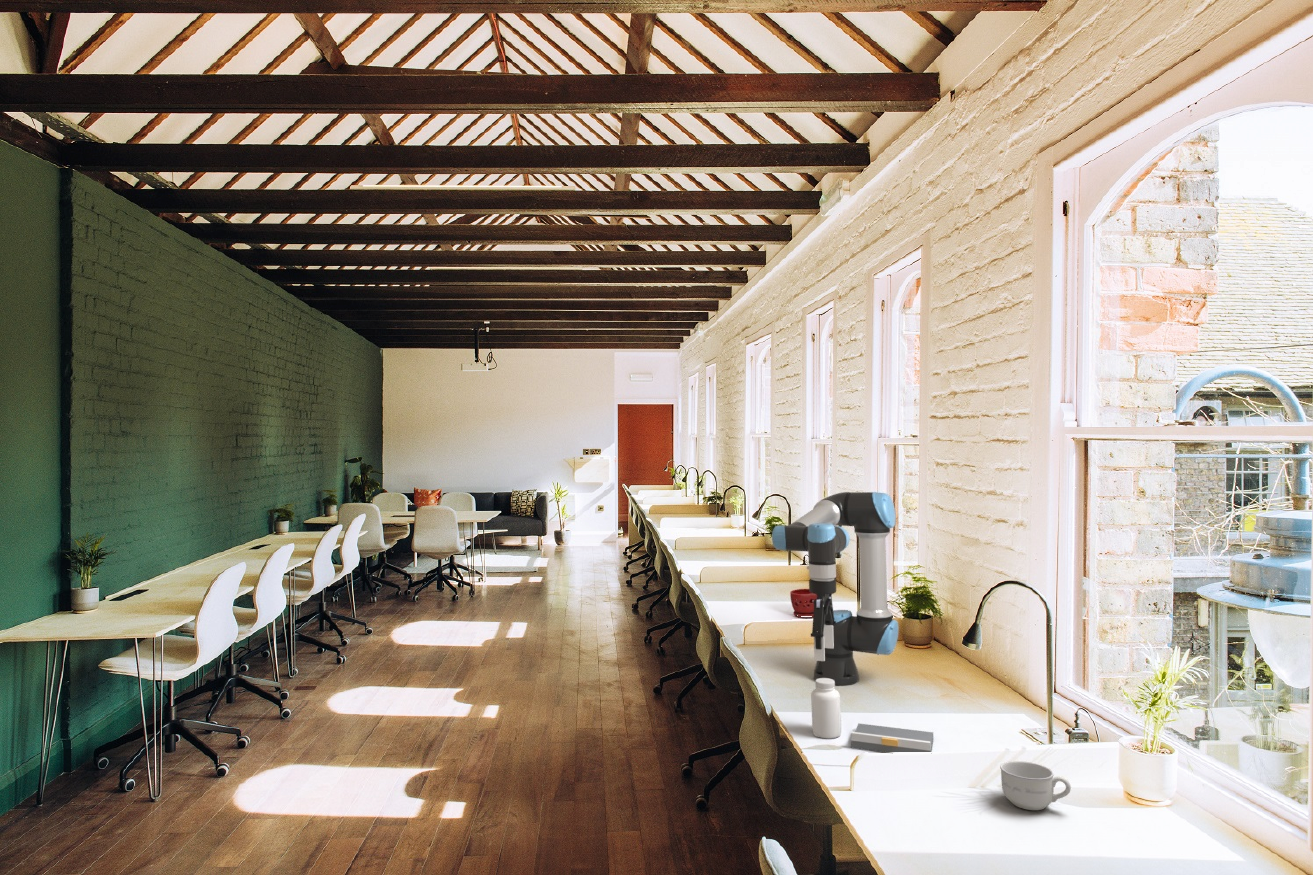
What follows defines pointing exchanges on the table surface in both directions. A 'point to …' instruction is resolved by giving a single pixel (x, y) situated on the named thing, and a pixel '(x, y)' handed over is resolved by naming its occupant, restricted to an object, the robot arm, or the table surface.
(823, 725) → the pill bottle
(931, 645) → the table surface
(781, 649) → the table surface
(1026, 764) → the teacup
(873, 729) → the shelf
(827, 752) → the table surface
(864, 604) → the robot arm
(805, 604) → the plant pot
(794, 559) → the table surface
